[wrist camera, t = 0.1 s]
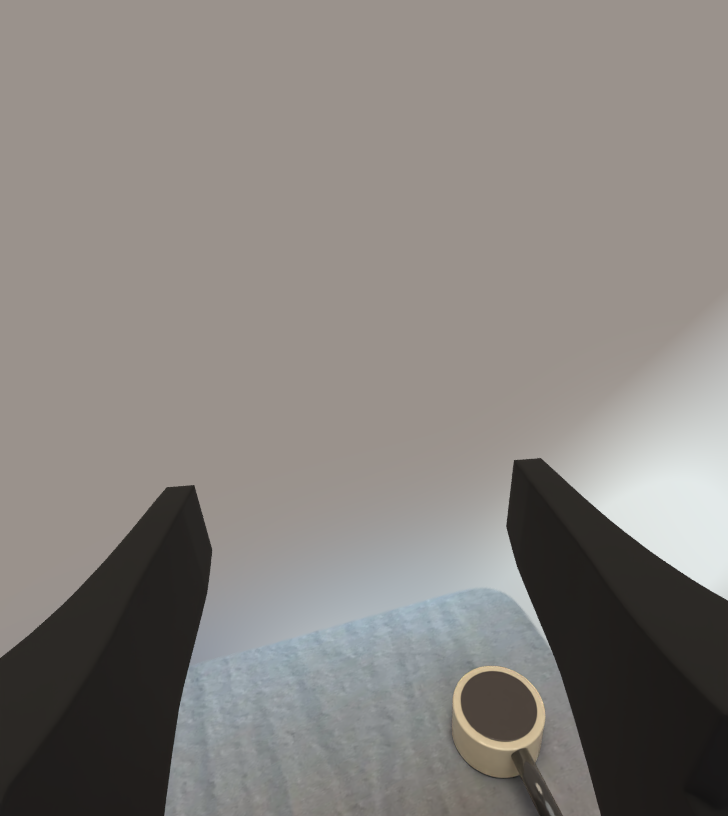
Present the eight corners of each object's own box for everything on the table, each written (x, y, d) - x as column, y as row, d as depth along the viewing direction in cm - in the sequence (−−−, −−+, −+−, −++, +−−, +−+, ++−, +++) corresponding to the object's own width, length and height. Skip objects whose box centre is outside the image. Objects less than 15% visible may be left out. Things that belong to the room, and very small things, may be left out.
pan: (438, 706, 32) (439, 677, 30) (513, 683, 33) (517, 655, 31) (507, 872, 25) (511, 843, 24) (600, 838, 26) (609, 808, 24)
